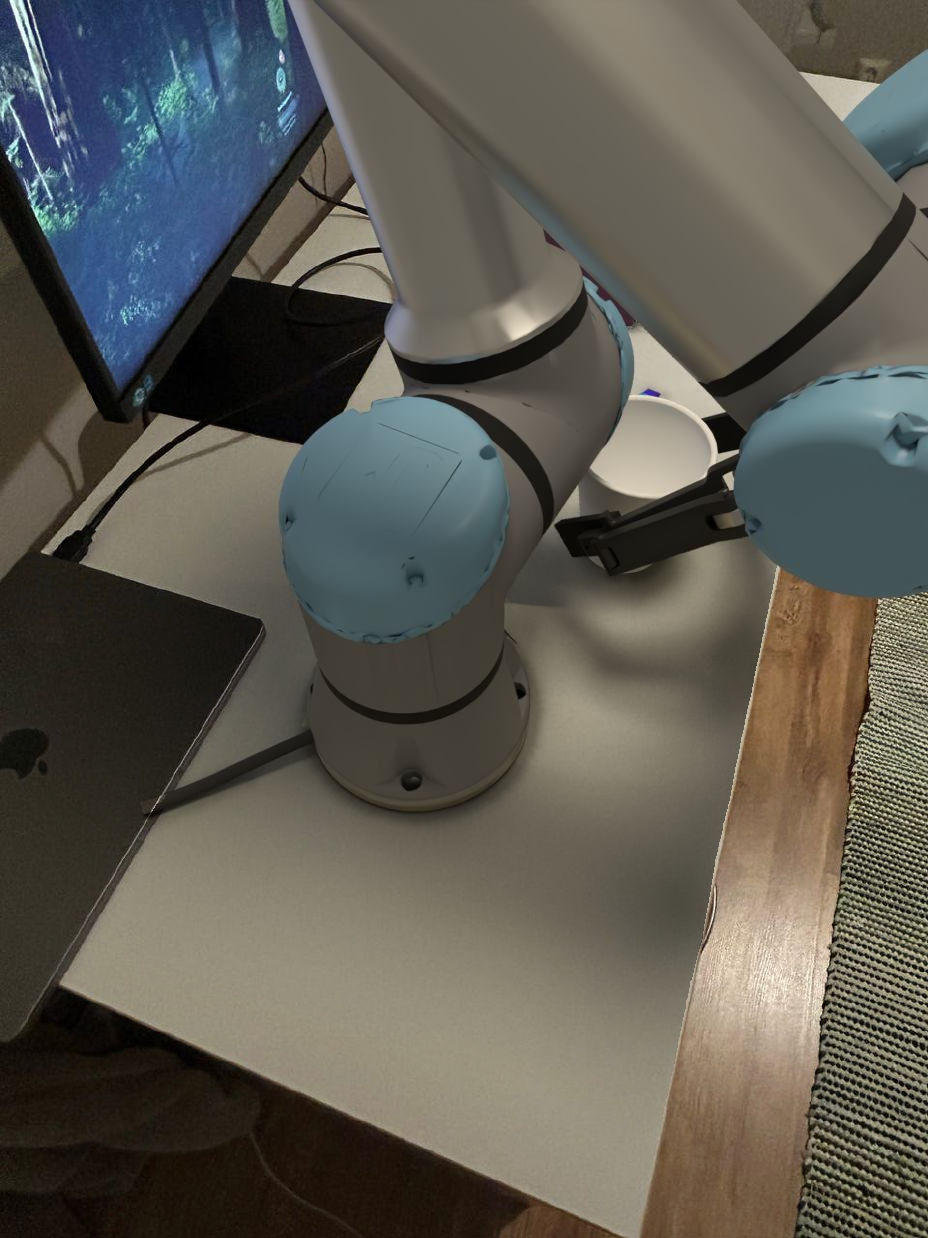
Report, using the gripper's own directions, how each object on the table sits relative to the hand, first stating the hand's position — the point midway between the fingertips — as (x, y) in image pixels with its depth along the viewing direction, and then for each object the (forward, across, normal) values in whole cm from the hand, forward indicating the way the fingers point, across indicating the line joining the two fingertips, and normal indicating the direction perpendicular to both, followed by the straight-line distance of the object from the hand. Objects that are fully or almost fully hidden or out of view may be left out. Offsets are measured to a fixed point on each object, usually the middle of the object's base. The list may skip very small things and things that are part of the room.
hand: (630, 487), depth 65 cm
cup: (+5, 0, +5) cm, 7 cm away
